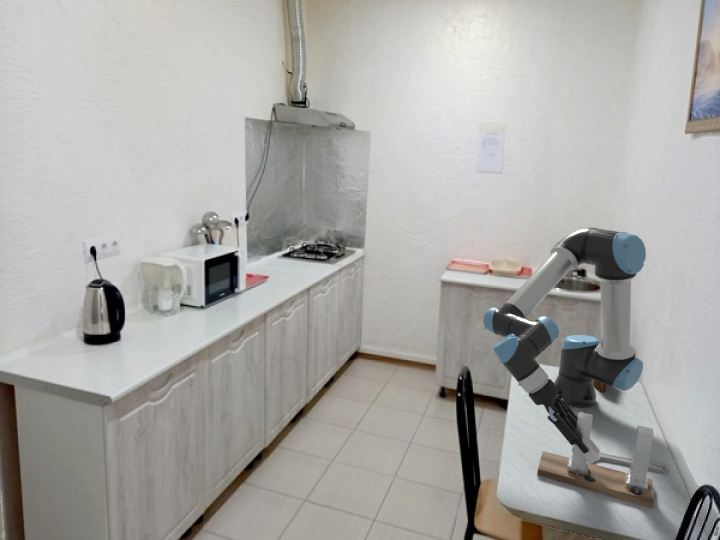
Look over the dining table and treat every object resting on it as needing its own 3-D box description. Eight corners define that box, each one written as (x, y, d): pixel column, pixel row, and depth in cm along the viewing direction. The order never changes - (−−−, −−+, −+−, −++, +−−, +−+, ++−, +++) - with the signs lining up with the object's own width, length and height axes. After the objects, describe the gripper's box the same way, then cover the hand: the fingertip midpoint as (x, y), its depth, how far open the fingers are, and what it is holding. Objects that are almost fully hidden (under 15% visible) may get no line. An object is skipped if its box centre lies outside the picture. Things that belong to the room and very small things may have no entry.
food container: (591, 378, 209) (595, 354, 207) (608, 382, 206) (612, 358, 204) (587, 389, 199) (590, 364, 196) (605, 394, 196) (608, 368, 193)
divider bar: (541, 457, 153) (542, 450, 153) (650, 486, 141) (652, 479, 141) (537, 475, 144) (538, 468, 144) (652, 508, 133) (654, 500, 132)
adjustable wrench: (666, 470, 150) (668, 465, 149) (669, 483, 144) (671, 477, 144) (572, 447, 159) (573, 442, 159) (572, 458, 154) (572, 453, 153)
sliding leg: (568, 461, 147) (576, 410, 144) (588, 466, 145) (596, 414, 142) (566, 473, 141) (574, 420, 138) (586, 479, 139) (595, 425, 136)
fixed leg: (625, 477, 141) (634, 423, 138) (646, 483, 139) (656, 428, 136) (625, 491, 136) (635, 435, 132) (647, 497, 133) (657, 440, 130)
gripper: (531, 381, 154) (585, 447, 150) (522, 405, 139) (581, 479, 136) (553, 368, 150) (608, 436, 147) (545, 391, 135) (607, 467, 132)
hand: (595, 456), depth 141 cm, fingers closed on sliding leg, 4 cm apart
